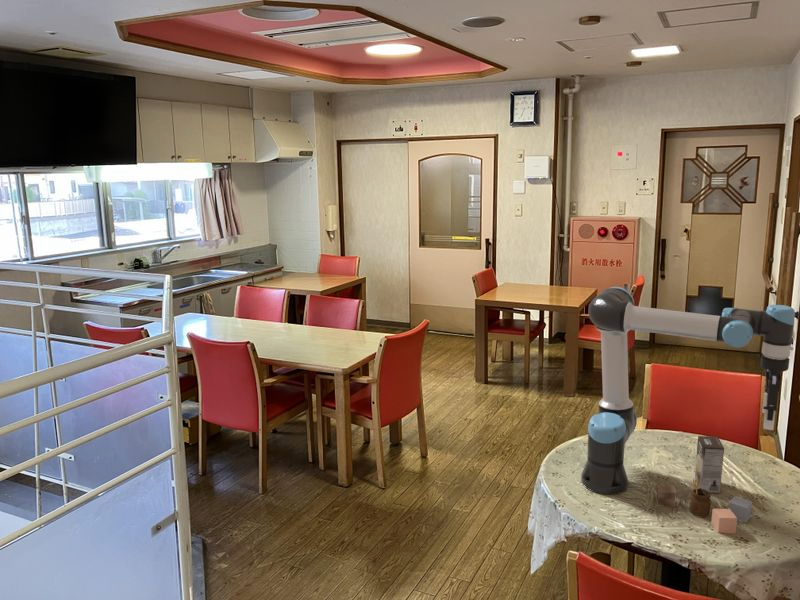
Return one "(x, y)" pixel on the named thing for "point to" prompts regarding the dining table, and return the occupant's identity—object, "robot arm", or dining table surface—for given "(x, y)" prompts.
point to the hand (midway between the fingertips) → (767, 420)
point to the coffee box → (709, 463)
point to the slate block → (741, 508)
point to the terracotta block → (724, 520)
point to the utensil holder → (700, 501)
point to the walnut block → (666, 495)
